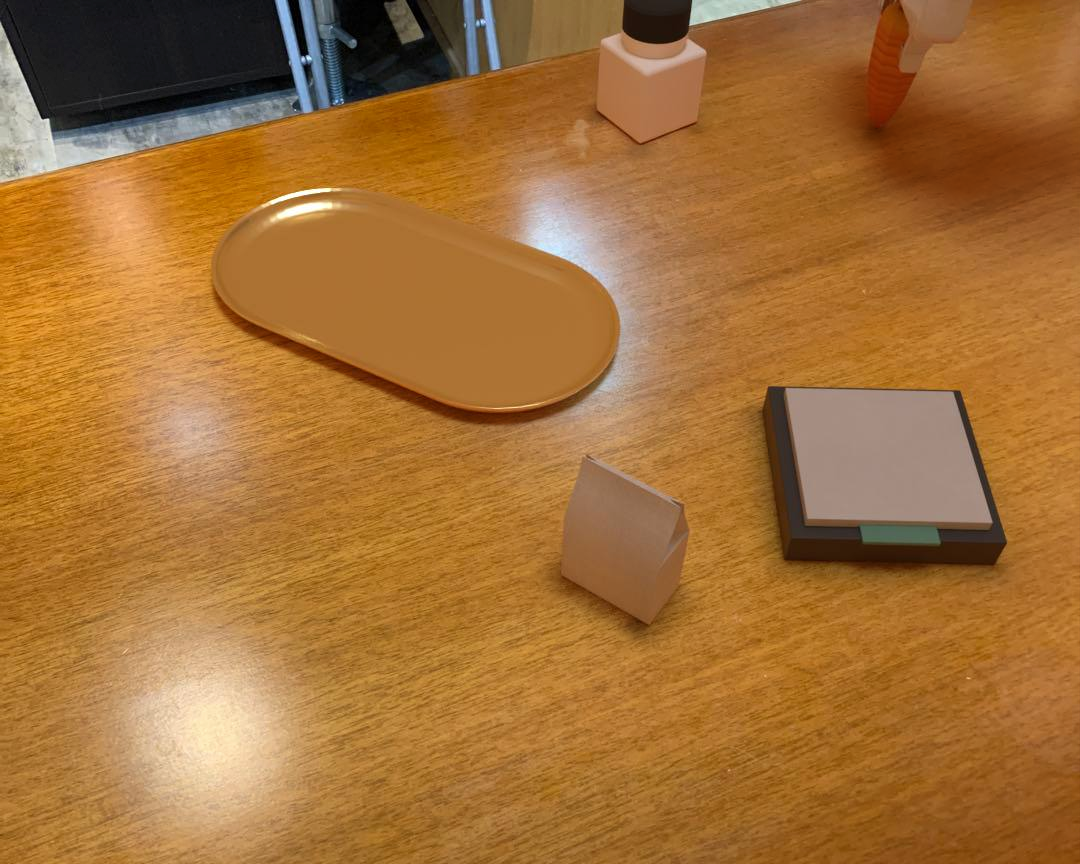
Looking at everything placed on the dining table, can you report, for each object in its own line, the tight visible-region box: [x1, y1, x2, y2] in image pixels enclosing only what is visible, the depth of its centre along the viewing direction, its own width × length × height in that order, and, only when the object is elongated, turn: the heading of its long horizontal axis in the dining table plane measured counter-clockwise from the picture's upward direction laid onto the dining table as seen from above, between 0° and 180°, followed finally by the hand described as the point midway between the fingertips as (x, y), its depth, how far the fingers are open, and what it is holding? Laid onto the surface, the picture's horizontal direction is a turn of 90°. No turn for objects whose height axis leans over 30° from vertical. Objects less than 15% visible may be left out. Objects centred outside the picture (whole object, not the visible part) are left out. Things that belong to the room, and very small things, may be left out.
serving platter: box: [210, 187, 621, 414], centre depth 87 cm, size 19×35×2 cm, turn 61°
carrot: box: [866, 3, 918, 129], centre depth 98 cm, size 5×5×15 cm
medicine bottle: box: [596, 0, 708, 144], centre depth 100 cm, size 7×7×12 cm
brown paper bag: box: [560, 453, 691, 626], centre depth 67 cm, size 4×7×10 cm, turn 55°
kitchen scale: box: [762, 385, 1008, 565], centre depth 75 cm, size 14×14×3 cm
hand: (896, 40), depth 97 cm, fingers open, 8 cm apart
